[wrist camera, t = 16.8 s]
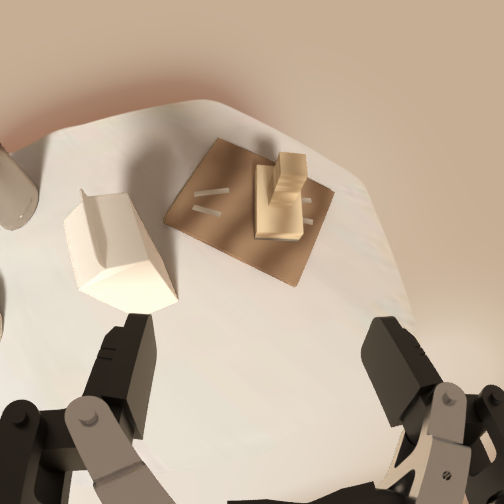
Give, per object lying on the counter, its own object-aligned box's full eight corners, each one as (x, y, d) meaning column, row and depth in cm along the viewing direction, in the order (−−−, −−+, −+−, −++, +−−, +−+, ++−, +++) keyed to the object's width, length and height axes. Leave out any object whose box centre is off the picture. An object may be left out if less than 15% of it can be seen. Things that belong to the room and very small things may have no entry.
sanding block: (254, 239, 41) (267, 201, 31) (254, 175, 44) (265, 127, 34) (297, 241, 42) (323, 206, 31) (293, 179, 45) (314, 133, 34)
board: (164, 223, 41) (163, 219, 40) (218, 142, 47) (218, 138, 46) (294, 287, 41) (296, 285, 40) (332, 195, 46) (334, 192, 45)
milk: (163, 260, 40) (119, 168, 19) (179, 302, 38) (142, 244, 18) (122, 277, 38) (45, 202, 18) (137, 319, 37) (58, 280, 16)
